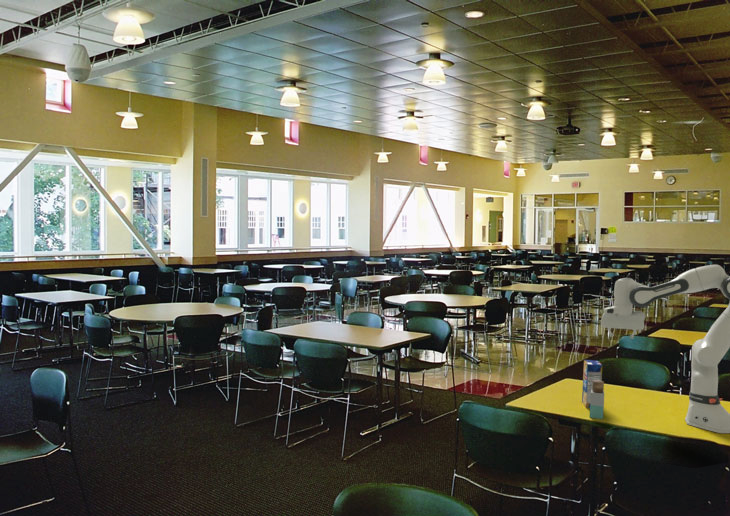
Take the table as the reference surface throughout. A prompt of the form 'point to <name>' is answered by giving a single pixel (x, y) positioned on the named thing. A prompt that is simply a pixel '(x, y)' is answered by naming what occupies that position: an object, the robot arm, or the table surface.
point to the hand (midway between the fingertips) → (621, 337)
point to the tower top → (597, 399)
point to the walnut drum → (598, 386)
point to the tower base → (596, 411)
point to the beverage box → (590, 379)
